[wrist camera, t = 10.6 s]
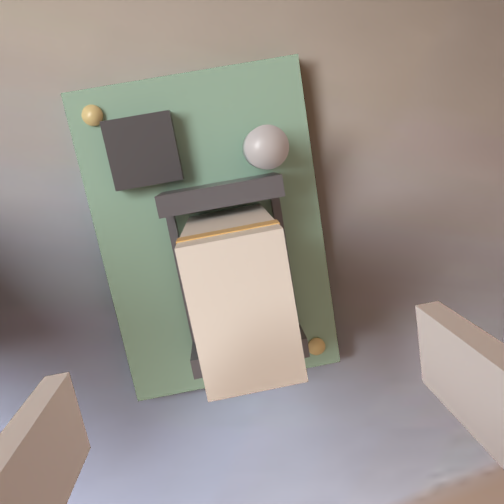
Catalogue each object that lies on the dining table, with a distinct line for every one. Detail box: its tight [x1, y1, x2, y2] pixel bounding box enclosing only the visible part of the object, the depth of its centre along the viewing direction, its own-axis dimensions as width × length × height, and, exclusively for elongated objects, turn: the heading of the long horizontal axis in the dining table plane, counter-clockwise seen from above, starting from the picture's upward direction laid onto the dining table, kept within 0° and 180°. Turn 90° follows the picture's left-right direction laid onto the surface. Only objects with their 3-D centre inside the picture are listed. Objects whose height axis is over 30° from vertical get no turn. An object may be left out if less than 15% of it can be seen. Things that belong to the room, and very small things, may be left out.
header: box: [154, 172, 310, 380], centre depth 27 cm, size 11×7×4 cm, turn 10°
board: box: [61, 54, 340, 401], centre depth 27 cm, size 20×14×4 cm
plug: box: [174, 204, 308, 402], centre depth 24 cm, size 7×5×10 cm, turn 10°
